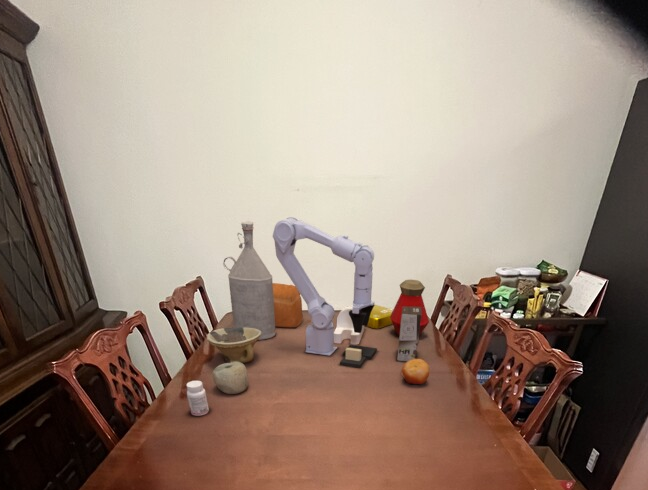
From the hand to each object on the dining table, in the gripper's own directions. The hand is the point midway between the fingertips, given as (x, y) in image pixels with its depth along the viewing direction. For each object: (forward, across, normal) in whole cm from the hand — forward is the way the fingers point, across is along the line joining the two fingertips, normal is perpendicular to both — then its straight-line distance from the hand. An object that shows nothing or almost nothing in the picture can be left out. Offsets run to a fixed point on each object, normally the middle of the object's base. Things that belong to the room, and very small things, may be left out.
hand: (361, 328), depth 141 cm
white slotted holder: (+9, +16, +9) cm, 21 cm away
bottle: (+9, +25, -12) cm, 29 cm away
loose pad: (+9, -8, 0) cm, 12 cm away
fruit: (+9, -16, -22) cm, 29 cm away
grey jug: (+9, +4, +44) cm, 45 cm away
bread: (+9, +20, +46) cm, 50 cm away
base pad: (+9, 0, 0) cm, 9 cm away
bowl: (+9, -20, +38) cm, 44 cm away
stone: (+9, -39, +28) cm, 49 cm away
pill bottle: (+9, -54, +28) cm, 62 cm away
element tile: (+9, +36, +4) cm, 38 cm away
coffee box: (+9, +3, -16) cm, 19 cm away
